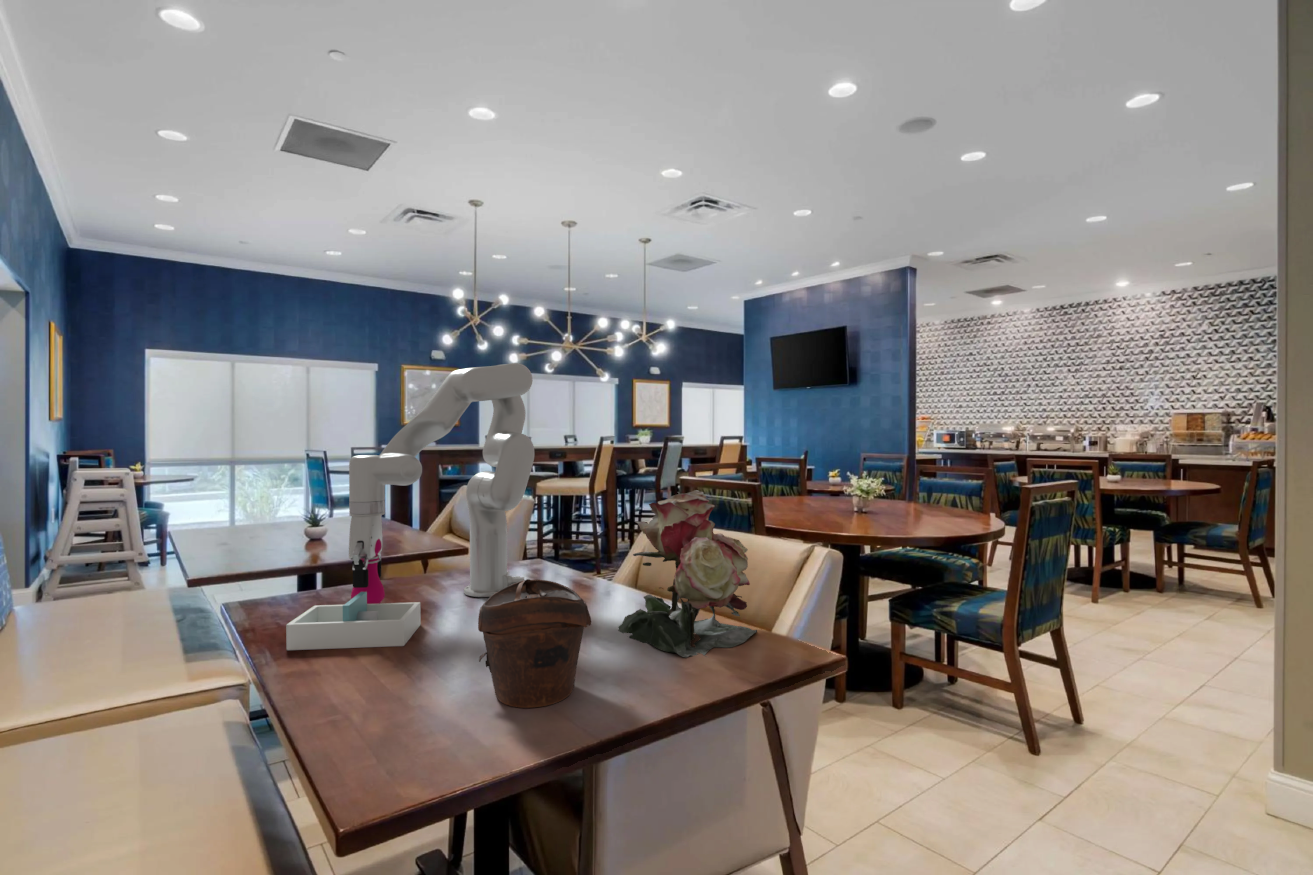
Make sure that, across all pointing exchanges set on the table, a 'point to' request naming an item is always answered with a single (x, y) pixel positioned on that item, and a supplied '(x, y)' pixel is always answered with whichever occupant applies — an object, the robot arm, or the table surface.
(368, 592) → the pepper mill
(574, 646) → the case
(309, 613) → the white tray
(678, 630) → the rose bouquet
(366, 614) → the pusher
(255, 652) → the table surface
